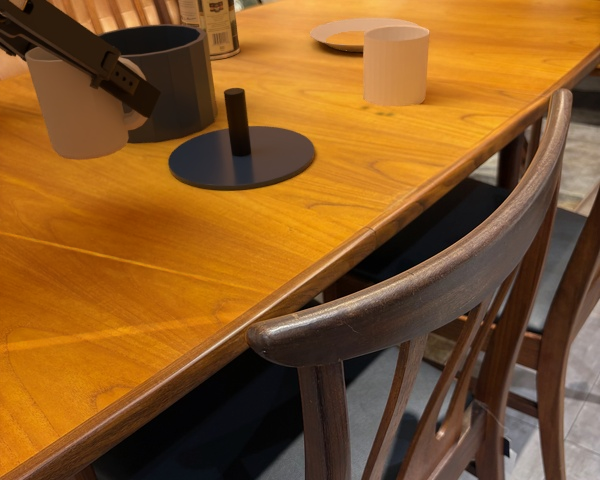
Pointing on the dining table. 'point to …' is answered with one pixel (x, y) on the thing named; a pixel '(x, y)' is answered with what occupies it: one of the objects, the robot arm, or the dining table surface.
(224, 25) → the coffee can
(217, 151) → the lid
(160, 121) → the pot
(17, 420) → the dining table surface
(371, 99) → the mug
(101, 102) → the cup
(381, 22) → the plate
